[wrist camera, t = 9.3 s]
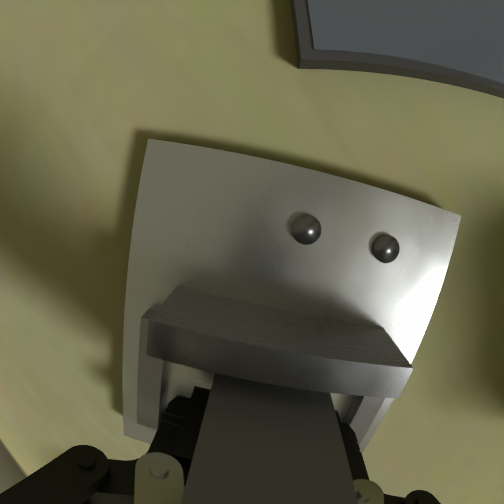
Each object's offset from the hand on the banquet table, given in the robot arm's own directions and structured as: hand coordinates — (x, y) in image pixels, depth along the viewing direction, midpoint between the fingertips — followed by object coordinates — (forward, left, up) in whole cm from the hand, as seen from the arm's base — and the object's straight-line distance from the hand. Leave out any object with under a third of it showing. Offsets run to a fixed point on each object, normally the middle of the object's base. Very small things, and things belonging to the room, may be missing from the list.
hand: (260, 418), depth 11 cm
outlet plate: (-2, 0, -3) cm, 3 cm away
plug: (0, 0, -1) cm, 1 cm away
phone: (-18, +4, -3) cm, 19 cm away
